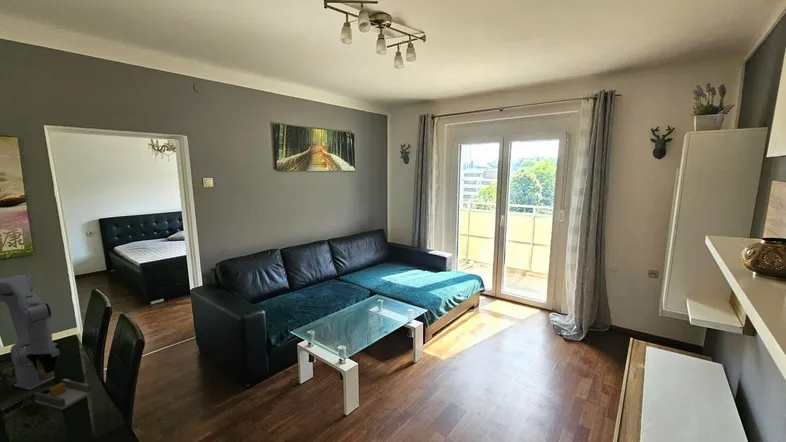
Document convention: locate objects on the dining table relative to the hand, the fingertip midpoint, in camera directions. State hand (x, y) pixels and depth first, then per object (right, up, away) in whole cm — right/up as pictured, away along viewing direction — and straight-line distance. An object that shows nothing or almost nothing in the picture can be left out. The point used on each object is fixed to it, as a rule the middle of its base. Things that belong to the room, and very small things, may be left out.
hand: (45, 371), depth 122 cm
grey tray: (+8, -10, -1) cm, 12 cm away
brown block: (0, -2, 0) cm, 2 cm away
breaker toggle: (+5, -8, 0) cm, 10 cm away
